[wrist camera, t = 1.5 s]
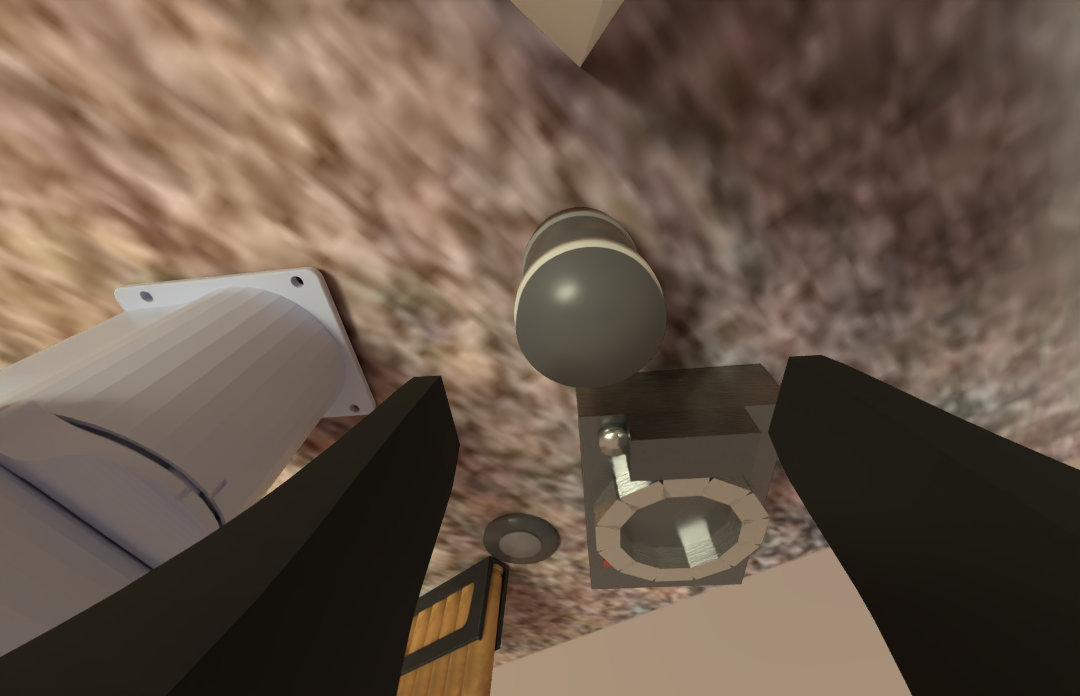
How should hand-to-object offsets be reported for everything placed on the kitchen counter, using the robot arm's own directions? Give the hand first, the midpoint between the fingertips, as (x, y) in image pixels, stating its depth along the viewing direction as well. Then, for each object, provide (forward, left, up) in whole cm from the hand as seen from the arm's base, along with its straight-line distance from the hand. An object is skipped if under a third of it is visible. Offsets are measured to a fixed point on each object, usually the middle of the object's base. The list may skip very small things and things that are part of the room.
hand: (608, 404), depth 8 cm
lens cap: (-5, -19, -10) cm, 22 cm away
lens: (0, 0, -10) cm, 10 cm away
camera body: (+4, -13, -10) cm, 17 cm away
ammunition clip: (-11, -25, -10) cm, 29 cm away
